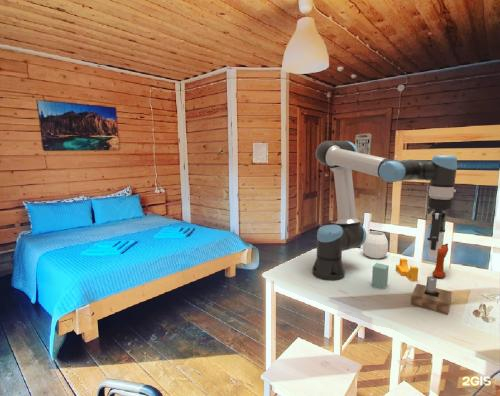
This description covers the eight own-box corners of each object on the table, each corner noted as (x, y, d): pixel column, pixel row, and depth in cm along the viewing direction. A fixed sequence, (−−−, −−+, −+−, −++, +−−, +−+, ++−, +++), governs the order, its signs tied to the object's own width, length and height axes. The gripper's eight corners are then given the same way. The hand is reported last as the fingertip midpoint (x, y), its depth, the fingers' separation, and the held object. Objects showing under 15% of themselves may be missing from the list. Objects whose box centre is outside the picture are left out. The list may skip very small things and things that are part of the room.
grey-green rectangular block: (371, 285, 128) (372, 266, 127) (375, 281, 132) (376, 262, 131) (384, 289, 125) (385, 269, 124) (387, 284, 129) (388, 265, 128)
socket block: (410, 304, 112) (411, 294, 112) (416, 292, 122) (416, 283, 121) (448, 314, 105) (449, 304, 104) (450, 301, 114) (451, 291, 114)
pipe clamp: (395, 270, 144) (396, 258, 143) (404, 270, 144) (405, 258, 143) (407, 281, 132) (408, 268, 131) (417, 281, 132) (418, 268, 131)
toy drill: (450, 268, 146) (453, 239, 144) (443, 280, 133) (446, 248, 130) (439, 265, 149) (441, 237, 147) (430, 277, 136) (433, 246, 134)
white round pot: (386, 253, 168) (387, 231, 165) (388, 261, 155) (390, 237, 153) (362, 251, 172) (363, 229, 170) (362, 258, 160) (363, 235, 158)
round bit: (424, 302, 113) (426, 278, 112) (425, 299, 116) (427, 275, 114) (433, 305, 111) (436, 280, 110) (434, 301, 114) (437, 277, 112)
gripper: (450, 203, 95) (443, 265, 98) (455, 194, 114) (449, 246, 118) (423, 201, 99) (417, 260, 103) (433, 192, 119) (428, 242, 122)
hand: (434, 252), depth 110 cm, fingers open, 13 cm apart
